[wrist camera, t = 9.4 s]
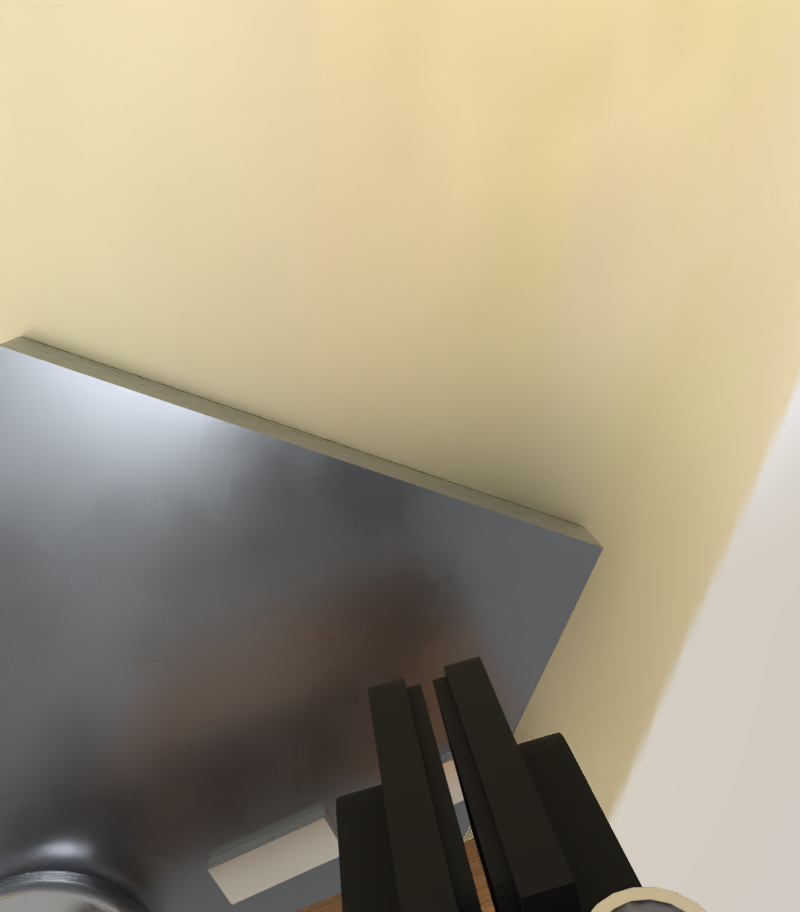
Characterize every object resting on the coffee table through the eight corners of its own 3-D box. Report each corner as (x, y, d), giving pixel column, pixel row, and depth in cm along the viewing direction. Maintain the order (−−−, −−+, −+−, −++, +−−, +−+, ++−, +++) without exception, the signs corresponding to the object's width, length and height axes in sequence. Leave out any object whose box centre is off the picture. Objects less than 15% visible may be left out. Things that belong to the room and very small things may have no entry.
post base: (317, 1119, 23) (320, 1326, 18) (-168, 1054, 20) (-298, 1282, 16) (599, 532, 18) (690, 627, 14) (20, 336, 15) (-90, 380, 11)
